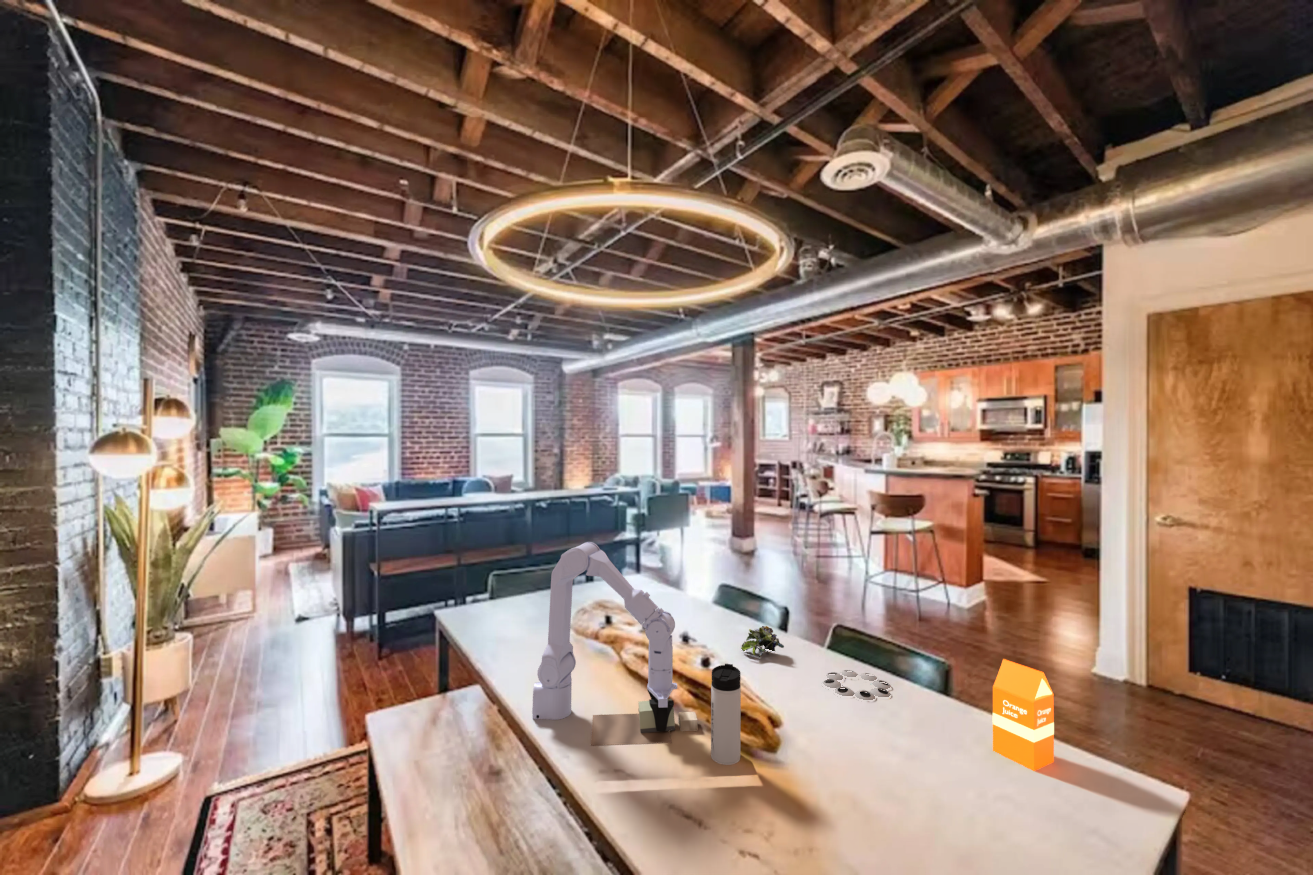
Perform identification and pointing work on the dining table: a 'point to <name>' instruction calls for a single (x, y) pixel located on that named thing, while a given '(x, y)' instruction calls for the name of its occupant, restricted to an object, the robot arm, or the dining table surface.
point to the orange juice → (1023, 716)
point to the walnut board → (623, 731)
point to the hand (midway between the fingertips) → (660, 724)
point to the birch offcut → (687, 721)
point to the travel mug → (725, 714)
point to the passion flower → (761, 640)
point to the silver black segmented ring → (857, 694)
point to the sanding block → (652, 718)
